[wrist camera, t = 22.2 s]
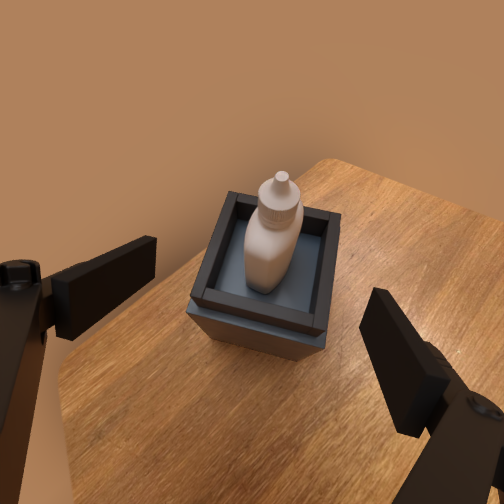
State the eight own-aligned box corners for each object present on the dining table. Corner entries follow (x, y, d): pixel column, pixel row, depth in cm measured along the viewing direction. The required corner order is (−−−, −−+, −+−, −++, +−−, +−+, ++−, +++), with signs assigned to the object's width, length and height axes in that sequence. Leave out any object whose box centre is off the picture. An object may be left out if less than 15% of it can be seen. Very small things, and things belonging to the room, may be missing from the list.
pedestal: (210, 338, 36) (176, 302, 20) (234, 260, 41) (223, 182, 25) (296, 361, 35) (335, 344, 19) (310, 278, 40) (350, 208, 24)
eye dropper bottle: (230, 263, 25) (214, 172, 14) (279, 234, 26) (298, 131, 15) (257, 301, 23) (261, 232, 12) (307, 268, 24) (350, 180, 14)
